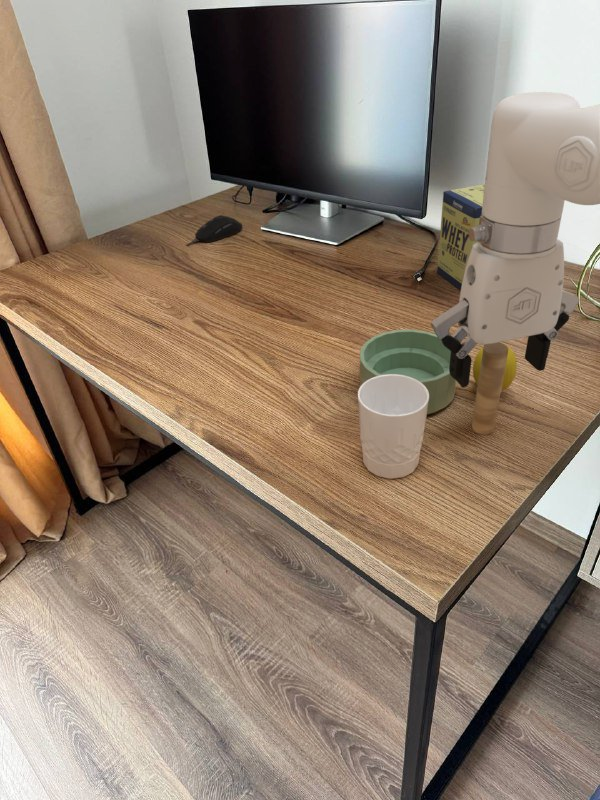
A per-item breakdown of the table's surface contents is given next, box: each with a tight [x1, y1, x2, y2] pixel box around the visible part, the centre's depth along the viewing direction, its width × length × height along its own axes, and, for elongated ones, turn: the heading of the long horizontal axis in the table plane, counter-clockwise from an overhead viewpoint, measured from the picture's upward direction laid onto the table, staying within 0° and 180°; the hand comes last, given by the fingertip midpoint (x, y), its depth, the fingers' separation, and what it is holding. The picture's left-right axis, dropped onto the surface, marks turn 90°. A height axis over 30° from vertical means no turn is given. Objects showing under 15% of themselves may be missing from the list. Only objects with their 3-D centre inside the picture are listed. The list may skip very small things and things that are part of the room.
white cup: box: [357, 374, 429, 480], centre depth 68 cm, size 8×8×10 cm
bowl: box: [359, 329, 458, 415], centre depth 81 cm, size 13×13×6 cm
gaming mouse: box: [186, 214, 243, 247], centre depth 133 cm, size 6×15×4 cm, turn 131°
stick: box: [471, 342, 509, 436], centre depth 71 cm, size 3×3×12 cm
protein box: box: [436, 183, 485, 291], centre depth 105 cm, size 10×16×16 cm
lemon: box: [472, 342, 518, 392], centre depth 78 cm, size 6×6×8 cm
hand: (497, 372), depth 69 cm, fingers open, 9 cm apart
